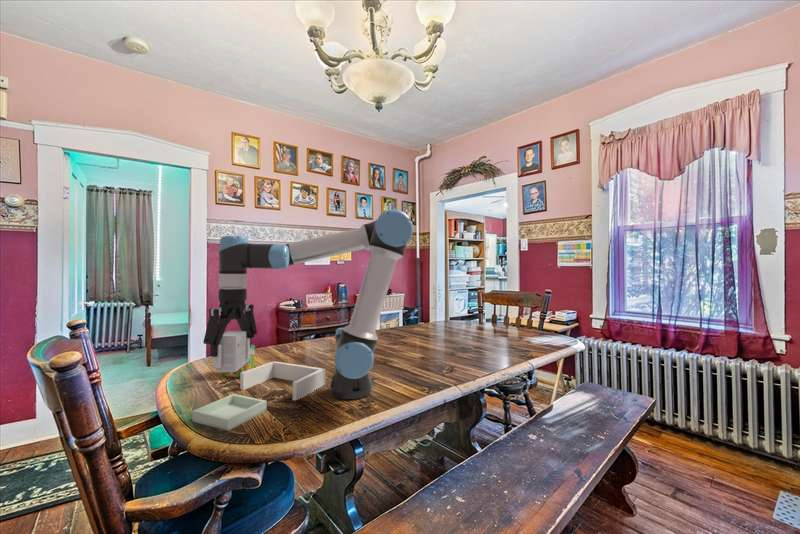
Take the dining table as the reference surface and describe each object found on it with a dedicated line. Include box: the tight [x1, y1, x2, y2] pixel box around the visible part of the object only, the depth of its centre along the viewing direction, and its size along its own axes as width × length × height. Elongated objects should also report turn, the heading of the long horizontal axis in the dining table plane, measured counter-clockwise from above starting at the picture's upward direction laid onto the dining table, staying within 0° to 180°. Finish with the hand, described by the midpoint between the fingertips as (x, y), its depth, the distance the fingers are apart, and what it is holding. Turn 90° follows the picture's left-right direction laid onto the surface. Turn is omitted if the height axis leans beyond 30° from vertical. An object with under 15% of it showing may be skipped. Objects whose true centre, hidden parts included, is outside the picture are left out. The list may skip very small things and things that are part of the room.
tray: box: [191, 393, 268, 432], centre depth 99 cm, size 14×14×3 cm
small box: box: [215, 330, 246, 373], centre depth 99 cm, size 8×6×10 cm
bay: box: [239, 360, 326, 402], centre depth 123 cm, size 25×16×6 cm, turn 68°
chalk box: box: [221, 344, 256, 379], centre depth 137 cm, size 9×9×15 cm
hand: (231, 362), depth 99 cm, fingers closed on small box, 9 cm apart
